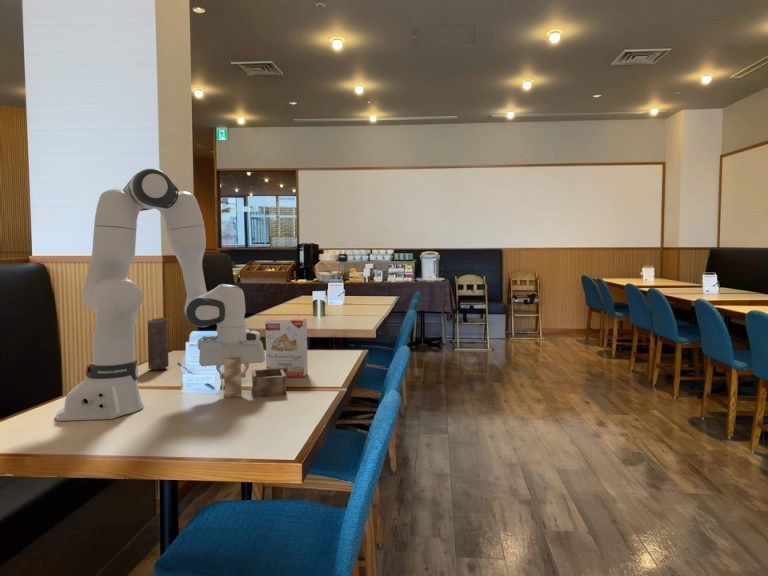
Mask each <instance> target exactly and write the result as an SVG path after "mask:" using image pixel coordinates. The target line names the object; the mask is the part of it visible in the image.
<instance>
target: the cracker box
mask: <svg viewBox="0 0 768 576" xmlns="http://www.w3.org/2000/svg"><path fill="white" fill-rule="evenodd" d="M307 327H308V326H307V318H290V317H289V318H288V317H287V318H286V317H285V318H284V317H283V318H282V317H280V318H278V317H277V318H273V317H271V318H268V319H266V320H265V354H266V355H265V360H266V361H265V363H266V366H265V367H266V369H273V368H282V369H283V371H284V373H285V375H286V378H304V377H305V376H307V375H308V370H309V369H308V336H307V335H308V333H307V332H308V331H307V330H308V329H307Z"/></svg>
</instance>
